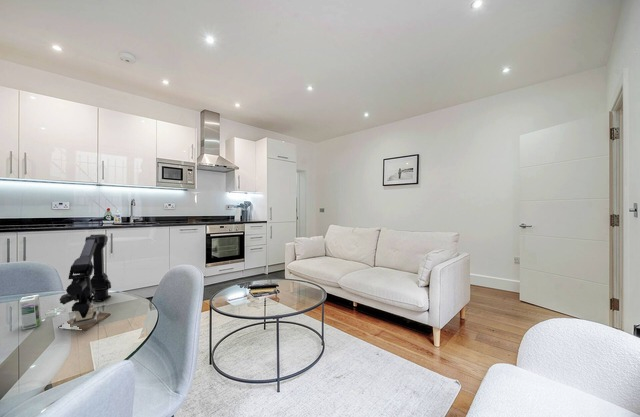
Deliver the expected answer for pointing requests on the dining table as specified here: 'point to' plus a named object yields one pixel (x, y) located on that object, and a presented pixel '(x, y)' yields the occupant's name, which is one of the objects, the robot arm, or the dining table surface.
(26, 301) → the syrup box
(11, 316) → the dining table surface
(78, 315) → the ash block
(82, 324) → the socket board
